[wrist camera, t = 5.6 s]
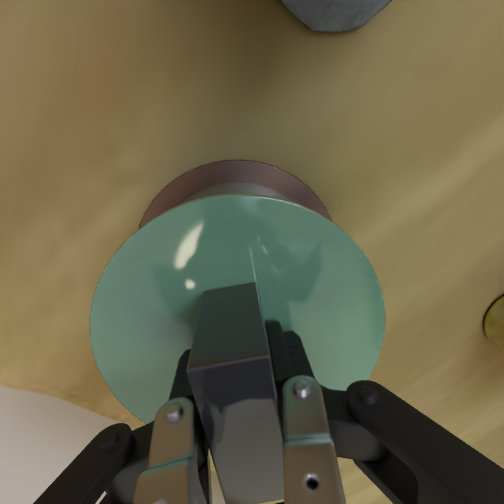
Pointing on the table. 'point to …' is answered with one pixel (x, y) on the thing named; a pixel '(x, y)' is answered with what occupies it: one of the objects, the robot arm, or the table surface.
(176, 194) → the trivet
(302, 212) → the pot
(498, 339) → the vase
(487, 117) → the table surface
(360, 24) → the moka pot
